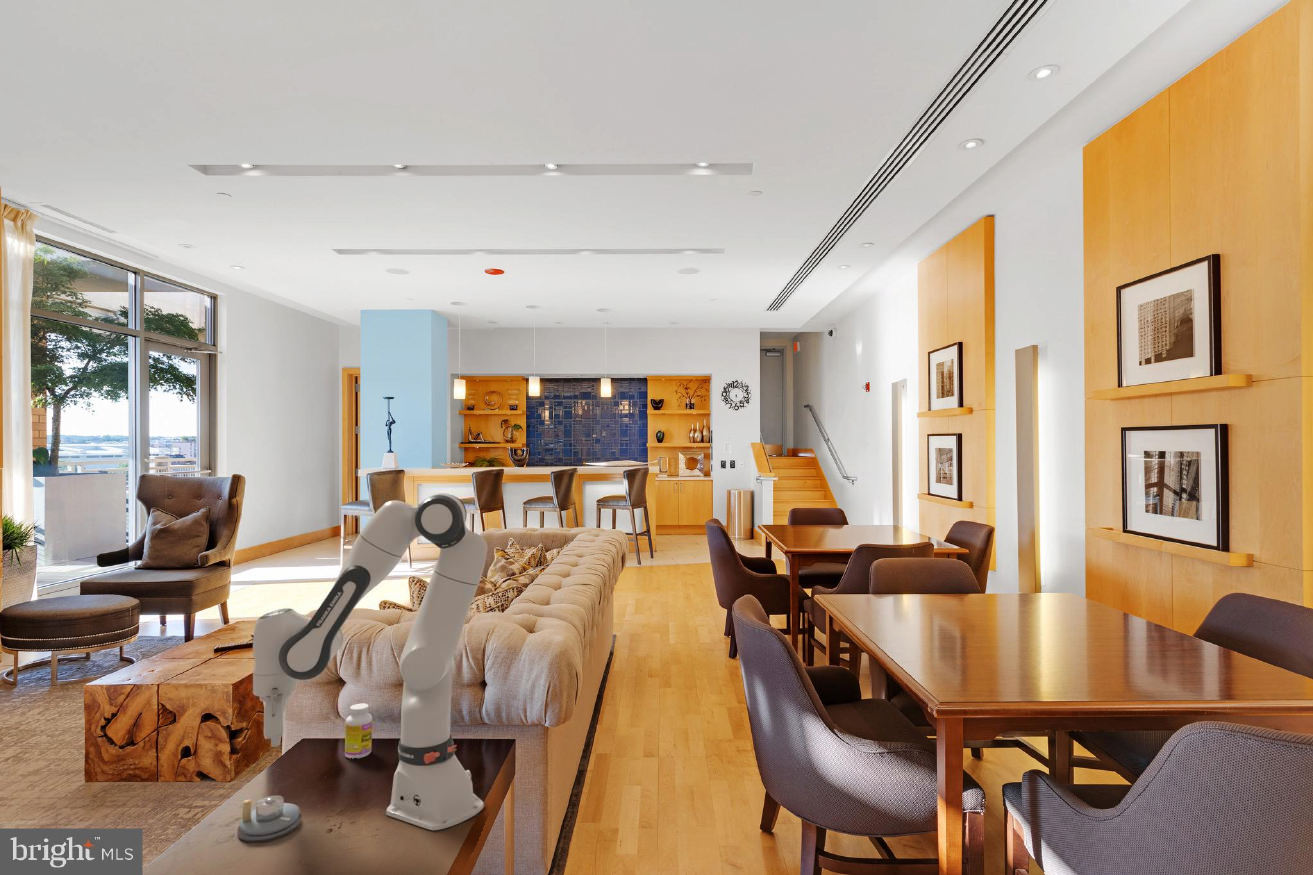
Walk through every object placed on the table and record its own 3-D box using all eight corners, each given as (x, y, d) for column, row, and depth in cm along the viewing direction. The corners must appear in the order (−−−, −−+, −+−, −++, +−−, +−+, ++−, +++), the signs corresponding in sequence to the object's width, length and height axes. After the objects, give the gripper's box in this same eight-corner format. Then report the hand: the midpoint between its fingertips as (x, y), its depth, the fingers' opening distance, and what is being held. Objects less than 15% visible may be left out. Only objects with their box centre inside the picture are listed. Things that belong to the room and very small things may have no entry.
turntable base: (311, 825, 149) (311, 820, 149) (251, 849, 140) (251, 844, 140) (286, 807, 157) (286, 803, 157) (228, 829, 147) (228, 824, 147)
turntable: (308, 819, 149) (309, 795, 149) (252, 841, 140) (253, 815, 141) (285, 803, 156) (286, 780, 156) (231, 823, 147) (231, 798, 148)
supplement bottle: (361, 760, 182) (362, 711, 182) (339, 758, 183) (340, 709, 183) (376, 750, 188) (377, 702, 189) (355, 748, 189) (356, 701, 190)
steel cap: (287, 815, 148) (287, 797, 149) (261, 825, 144) (262, 806, 144) (277, 807, 152) (277, 790, 152) (251, 817, 148) (252, 799, 148)
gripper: (289, 693, 147) (290, 758, 147) (292, 668, 166) (292, 726, 165) (256, 698, 145) (256, 765, 144) (262, 672, 163) (262, 731, 163)
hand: (275, 744), depth 155 cm, fingers closed
